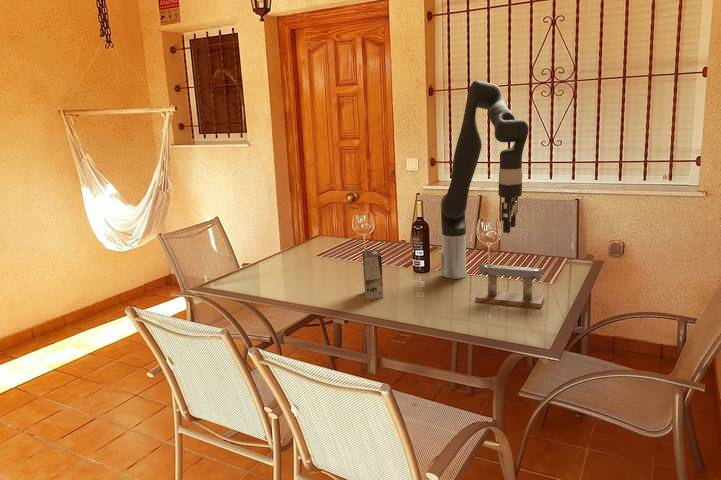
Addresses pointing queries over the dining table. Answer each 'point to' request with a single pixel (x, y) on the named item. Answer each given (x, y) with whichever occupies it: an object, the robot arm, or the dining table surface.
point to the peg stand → (510, 295)
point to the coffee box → (372, 274)
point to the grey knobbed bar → (511, 271)
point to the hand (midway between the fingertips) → (509, 229)
